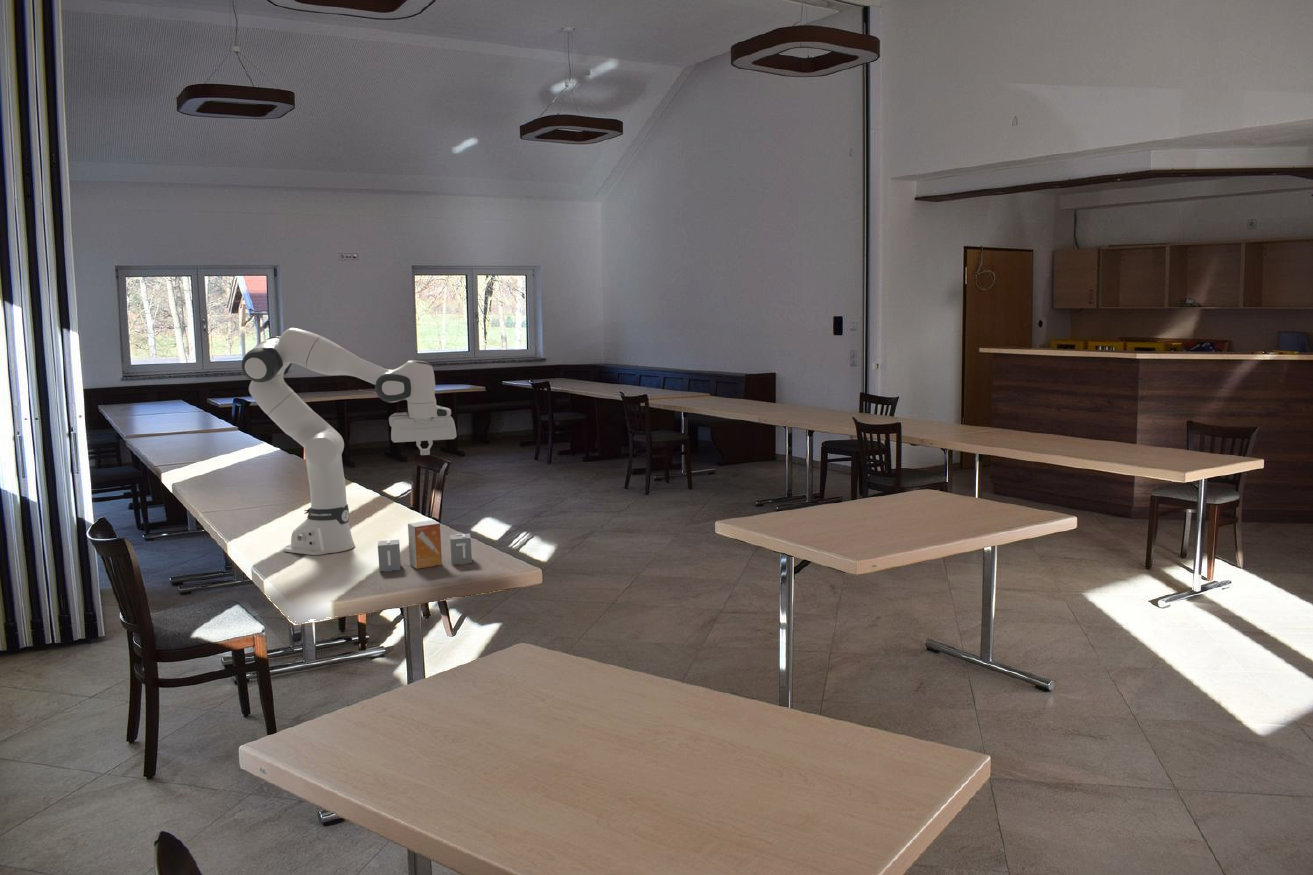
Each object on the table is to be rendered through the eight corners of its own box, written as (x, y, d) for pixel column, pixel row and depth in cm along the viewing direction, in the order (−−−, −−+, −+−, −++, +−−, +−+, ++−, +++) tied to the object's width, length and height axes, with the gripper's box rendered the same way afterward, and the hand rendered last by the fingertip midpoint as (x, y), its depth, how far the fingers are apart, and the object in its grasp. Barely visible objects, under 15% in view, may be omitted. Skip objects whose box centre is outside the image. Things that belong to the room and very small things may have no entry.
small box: (416, 569, 290) (414, 526, 288) (409, 565, 295) (407, 523, 293) (442, 565, 294) (440, 522, 292) (435, 560, 299) (432, 519, 298)
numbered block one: (379, 572, 288) (377, 544, 287) (380, 566, 294) (378, 540, 293) (400, 570, 289) (398, 543, 288) (400, 565, 295) (399, 538, 294)
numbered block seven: (451, 565, 293) (450, 538, 292) (451, 560, 299) (449, 534, 298) (472, 563, 295) (470, 537, 294) (471, 558, 301) (469, 532, 300)
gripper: (388, 414, 302) (391, 458, 303) (455, 410, 306) (457, 454, 308) (388, 412, 308) (391, 455, 309) (454, 408, 312) (457, 451, 314)
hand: (425, 454), depth 309 cm, fingers closed
